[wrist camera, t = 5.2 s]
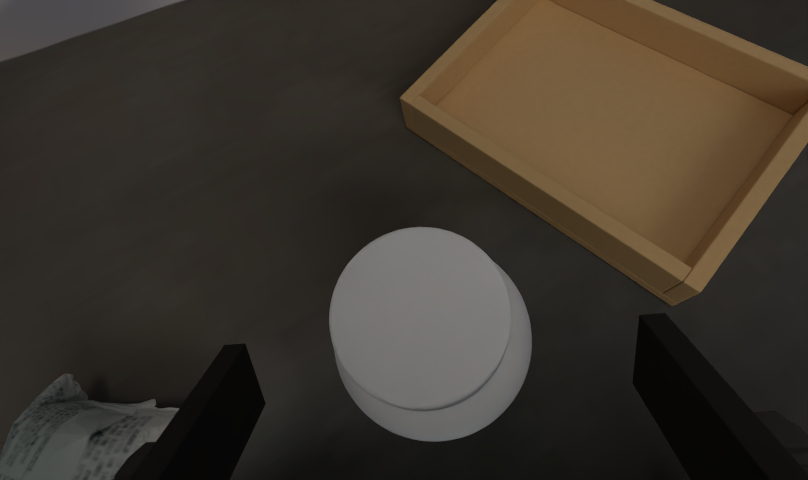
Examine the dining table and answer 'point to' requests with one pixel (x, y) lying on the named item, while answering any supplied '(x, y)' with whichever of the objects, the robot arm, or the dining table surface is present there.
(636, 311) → the dining table surface
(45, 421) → the packaged food
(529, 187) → the tray
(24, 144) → the dining table surface
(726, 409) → the robot arm
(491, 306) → the pill bottle
